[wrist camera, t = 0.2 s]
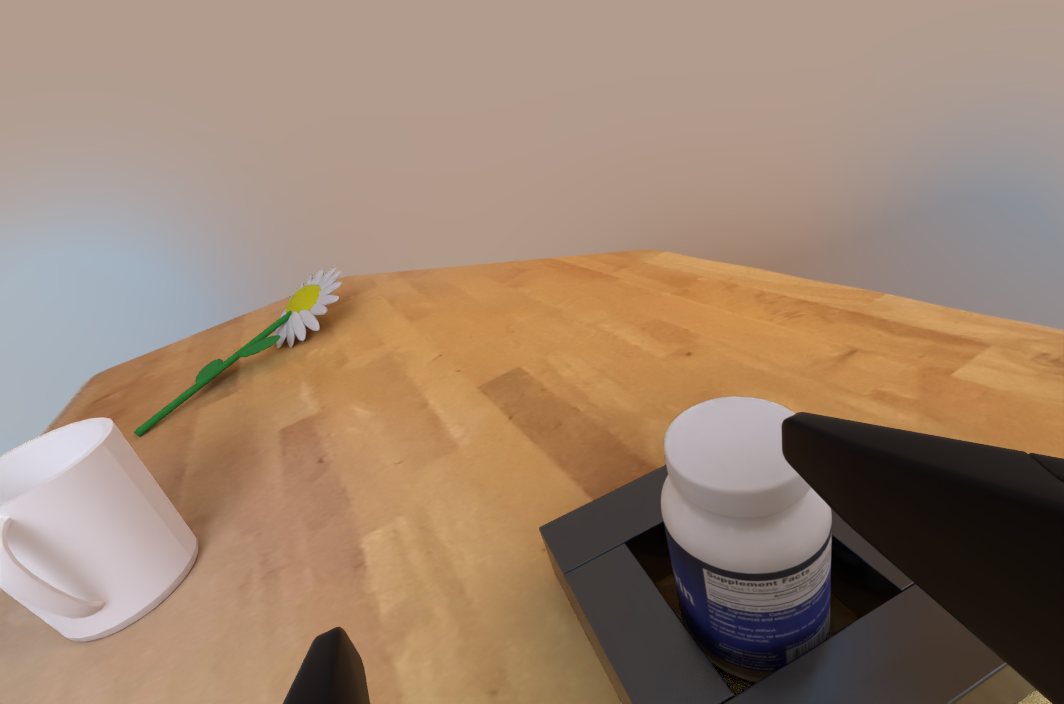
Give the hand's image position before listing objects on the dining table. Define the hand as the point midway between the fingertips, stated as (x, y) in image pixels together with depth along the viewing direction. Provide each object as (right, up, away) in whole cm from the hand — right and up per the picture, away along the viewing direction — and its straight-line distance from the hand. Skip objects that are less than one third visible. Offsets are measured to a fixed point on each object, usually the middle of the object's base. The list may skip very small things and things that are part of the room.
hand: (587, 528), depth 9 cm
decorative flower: (-35, +2, +54) cm, 65 cm away
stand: (+8, -8, +12) cm, 17 cm away
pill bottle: (+8, -8, +12) cm, 17 cm away
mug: (-27, -12, +23) cm, 38 cm away
